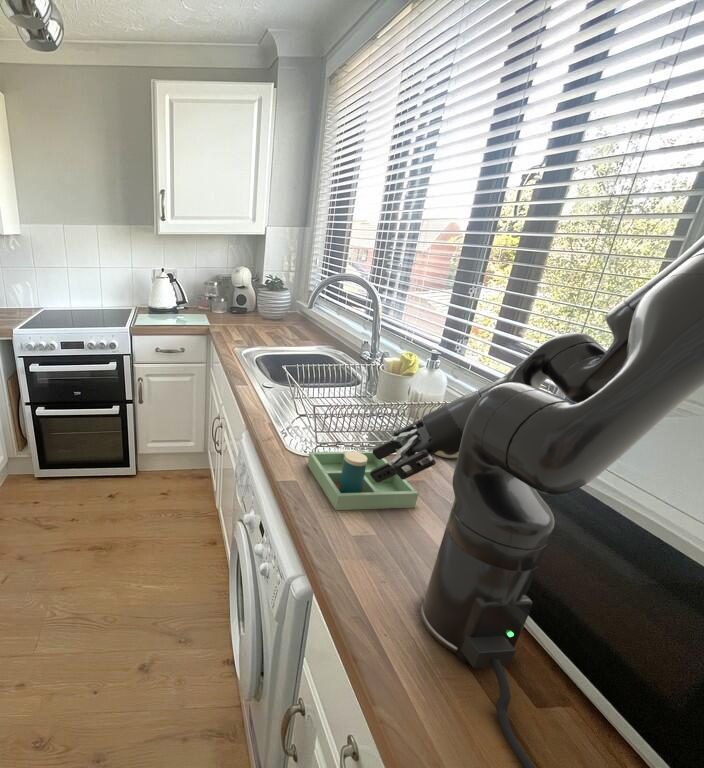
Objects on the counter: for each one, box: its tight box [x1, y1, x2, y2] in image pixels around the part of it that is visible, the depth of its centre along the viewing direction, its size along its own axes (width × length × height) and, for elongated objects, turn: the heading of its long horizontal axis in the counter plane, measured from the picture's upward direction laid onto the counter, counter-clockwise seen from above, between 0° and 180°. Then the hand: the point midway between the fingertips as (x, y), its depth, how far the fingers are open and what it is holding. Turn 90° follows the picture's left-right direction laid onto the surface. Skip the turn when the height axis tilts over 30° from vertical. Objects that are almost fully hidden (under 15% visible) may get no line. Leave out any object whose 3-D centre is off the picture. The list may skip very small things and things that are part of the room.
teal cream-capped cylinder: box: [339, 450, 368, 493], centre depth 79 cm, size 4×4×8 cm
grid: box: [307, 450, 419, 511], centre depth 83 cm, size 15×15×3 cm
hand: (374, 465), depth 76 cm, fingers open, 8 cm apart
